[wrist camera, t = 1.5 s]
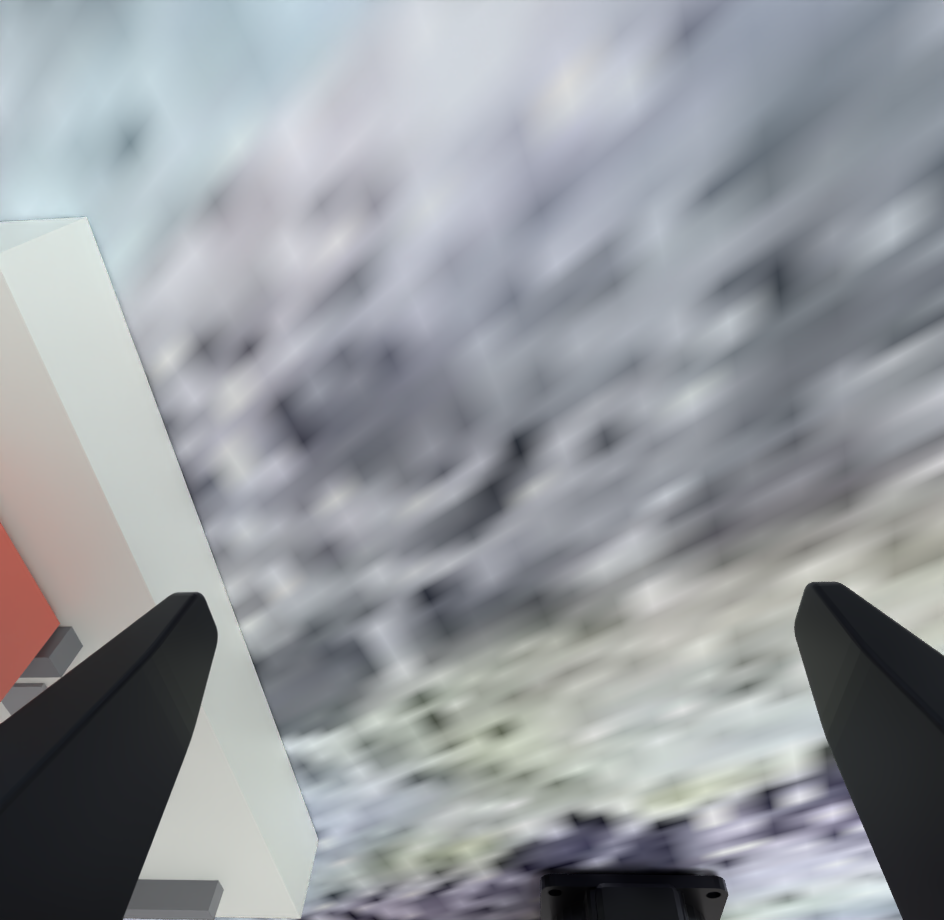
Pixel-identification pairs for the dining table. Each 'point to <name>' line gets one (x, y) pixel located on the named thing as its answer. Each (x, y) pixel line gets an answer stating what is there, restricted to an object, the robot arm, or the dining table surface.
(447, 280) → the dining table surface
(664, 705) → the dining table surface
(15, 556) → the red switch
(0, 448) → the white flat slab
